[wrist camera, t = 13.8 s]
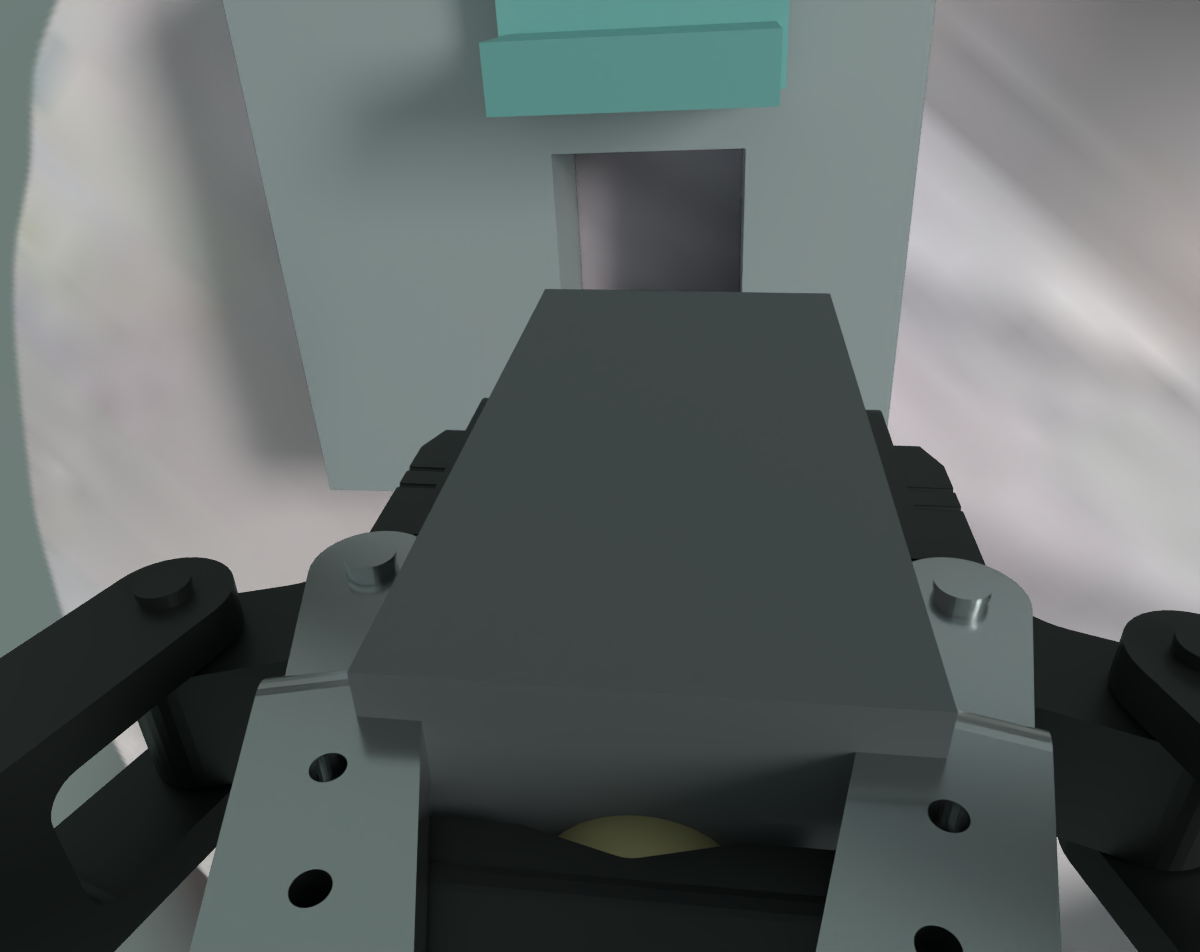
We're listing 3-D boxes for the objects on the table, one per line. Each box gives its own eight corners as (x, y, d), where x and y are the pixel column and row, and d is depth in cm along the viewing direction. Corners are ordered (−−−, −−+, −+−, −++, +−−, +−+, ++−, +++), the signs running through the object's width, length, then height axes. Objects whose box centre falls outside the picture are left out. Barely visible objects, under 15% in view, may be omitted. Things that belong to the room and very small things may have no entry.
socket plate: (862, 442, 32) (878, 500, 28) (371, 437, 34) (330, 489, 31) (916, -95, 24) (947, -107, 21) (277, -55, 27) (209, -58, 23)
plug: (804, 533, 15) (918, 1375, 6) (558, 523, 15) (338, 1290, 6) (829, 293, 13) (1057, 1039, 4) (544, 289, 13) (199, 953, 4)
